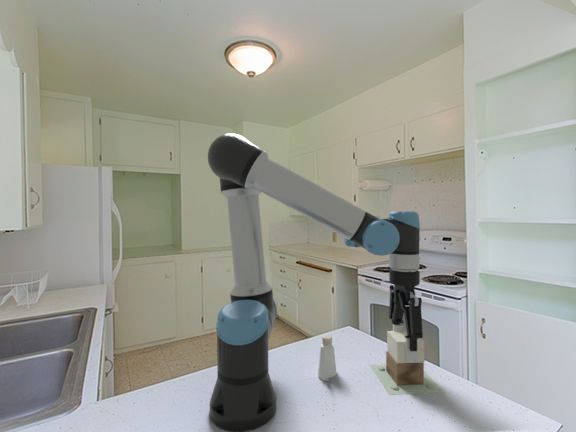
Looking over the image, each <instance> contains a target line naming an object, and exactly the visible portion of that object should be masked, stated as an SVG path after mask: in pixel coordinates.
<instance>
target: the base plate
mask: <svg viewBox="0 0 576 432" xmlns="http://www.w3.org/2000/svg"><path fill="white" fill-rule="evenodd" d="M369 366H370V368H371V369H372V371H373V372H374V374H375V375H376V377H377V378H378V380H379V382H380V383H381V385H382V386H383V388H384V389H385V391H386V392H387V394H388V395H389V396H390V395H391V396H392V395H395V396H397V395H409V394H410V395H413V394H414V395H415V394H433V393H436V394H437V393H445V391H444V390H443V388H441V386H439V384H437V382H436V381H435V380H434V379H433V378H432V376H430V375H429V374H428V373H427V372H426V371H425V370H424V384H422V385H399V386H397V385H396V383H395V382H394V381H393V379H392V378H391V377H390V375H389V374H388V373H387V371H386V363H385V364H369Z"/></svg>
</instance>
